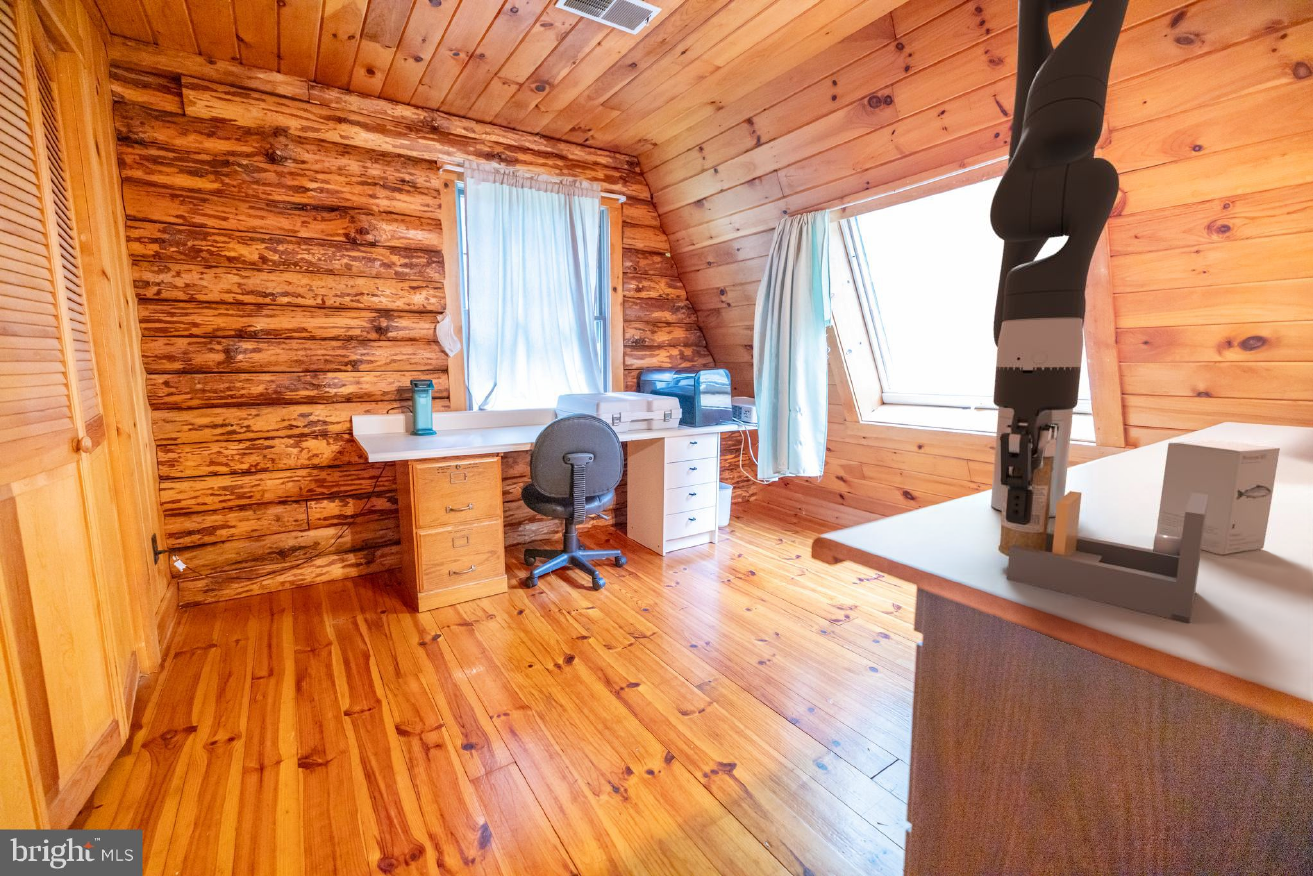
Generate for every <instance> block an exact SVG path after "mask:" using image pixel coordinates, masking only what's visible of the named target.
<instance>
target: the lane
mask: <svg viewBox="0 0 1313 876" xmlns="http://www.w3.org/2000/svg"><path fill="white" fill-rule="evenodd" d="M1208 497H1209V495H1208V494H1200V493H1192V494H1191V497H1190V500H1189V502H1188V505H1187V508H1186V511H1185V518H1184V525H1183V533H1182V538H1180V537H1174V536H1167V535H1161V534H1156V533H1155V534H1154V538H1153V539H1154V540H1153V546H1152V547H1153V548H1146V547H1141V546H1135V545H1131V544H1125V543H1124V544H1123V543H1119V542H1114V541H1107V540H1103V539H1099V538H1098V539H1097V538H1091V537H1088V536H1087V537H1086V536H1081V535H1077V543H1076V551H1080V552H1085V553H1090V554H1095V555H1100V556H1102V563H1100V562H1095V561H1091V560H1086V559H1081V558H1076V557H1071V556H1066V555H1061V554H1056V553H1052V551H1053V540H1054V531H1053V530H1049V529H1047V535H1046V546H1045V551H1042V550H1037V549H1032V548H1027V547H1022V546H1017V545H1012V546H1011V547H1010V548H1009V556H1008V562H1007V573H1006V575H1007V576H1006V579H1008V580H1011V581H1016V582H1020V583H1023V584H1028V585H1032V586H1036V587H1040V588H1044V589H1047V590H1048V589H1049V590H1052V591H1056V592H1060V593H1065V594H1067V595H1072V596H1077V597H1080V598H1085V599H1089V600H1093V601H1097V602H1102V603H1105V604H1108V605H1109V604H1110V605H1114V606H1118V607H1121V608H1125V609H1129V610H1135V611H1137V612H1142V613H1146V614H1150V615H1154V616H1158V617H1163V618H1165V619H1166V618H1167V619H1171V620H1176V621H1179V622H1183V623H1187V624H1190V622H1191V617H1192V612H1193V607H1194V601H1195V595H1196V589H1197V583H1198V575H1199V569H1200V562H1201V554H1202V550H1201V548H1202V541H1203V533H1204V526H1205V519H1206V512H1207V504H1208Z"/></svg>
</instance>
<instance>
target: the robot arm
mask: <svg viewBox="0 0 1313 876" xmlns="http://www.w3.org/2000/svg"><path fill="white" fill-rule="evenodd" d="M1017 2H1018V4H1017V5H1018V6H1017V8H1018V9H1017V44H1016V45H1017V47H1016V48H1017V49H1016V50H1017V51H1016V52H1017V53H1016V54H1017V55H1016V56H1017V57H1016V76H1015V77H1016V81H1015V94H1014V95H1015V96H1014V105H1013V113H1012V114H1013V115H1012V124H1011V131H1010V132H1011V134H1010V142H1009V150H1008V161H1007V167H1006V170H1005V171H1004V174H1003V175H1002V177H1001V179H1000V181H999V183H998V186H997V188H996V190H995V192H994V194H993V197H992V200H991V205H990V210H989V219H990V225H991V228H992V230H993V232H994V233H995V235H996V236H997V237H998V238H999V239H1001V240H1003V249H1002V258H1001V265H1000V271H999V279H998V280H999V281H998V286H997V287H998V288H997V294H996V300H995V306H994V315H993V327H992V329H993V341H994V344H995V346H996V348H997V351H996V362H995V363H996V364H995V365H996V366H995V375H994V376H995V378H994V389H993V404H994V405H995V406H996V407H997V408H998V409H997V411H998V412H997V422H996V423H997V425H996V426H997V427H996V436H995V437H996V438H995V447H994V461H993V475H992V476H993V477H992V486H991V488H992V489H991V499H990V500H991V501H990V506H991V507H992V508H994V509H996V510H997V511H998V510H999V511H1001V512H1002V504H1003V491H1004V485H1005V486H1006V488H1008V495H1007V507H1006V520H1007V521H1008V522H1010V523H1015V524H1021V525H1027V524H1028V523H1030V521H1031V514H1032V502H1033V490H1034V488H1035V486H1036V484H1035V480H1036V474H1037V471H1039V470H1041V469H1042V468H1043V466H1044V459H1045V449H1046V444H1048V443H1049V442H1050V440H1051V438H1054V439H1055V440H1056V454H1055V456H1053V457H1054V459H1053V461H1052V474H1051V477H1052V478H1051V491H1050V511H1049V518H1051V517H1052V518H1053V517H1056V509H1057V502H1058V501H1059V500H1060V499H1062V498H1063V497H1064V496H1065V495H1066V487H1067V486H1066V485H1067V476H1068V465H1069V457H1070V455H1069V454H1070V447H1071V445H1070V444H1071V436H1072V425H1073V414H1074V413H1073V412H1074V409H1075V408H1076V407H1077V406H1078V400H1079V389H1080V380H1081V379H1080V378H1081V372H1082V371H1081V370H1082V359H1083V350H1084V330H1083V329H1084V323H1085V319H1086V318H1085V317H1086V309H1087V308H1086V307H1087V305H1086V301H1087V299H1086V288H1087V280H1088V274H1089V272H1090V271H1089V270H1090V265H1091V262H1092V260H1093V256H1094V254H1095V253H1094V252H1095V250H1096V247H1097V245H1098V242H1099V240H1100V237H1101V235H1102V233H1103V231H1104V228H1105V226H1106V224H1107V222H1108V219H1109V217H1110V215H1111V213H1112V211H1113V208H1114V206H1115V203H1116V200H1117V198H1118V196H1119V195H1118V193H1119V190H1120V178H1119V173H1118V171H1117V169H1116V167H1115V166H1114V164H1112V163H1111V162H1110V161H1109V160H1107V159H1105V158H1102V157H1095V151H1096V146H1097V144H1098V143H1099V140H1100V138H1101V136H1102V132H1103V127H1104V118H1105V109H1106V103H1107V102H1106V101H1107V94H1108V84H1109V79H1110V72H1111V67H1112V61H1113V59H1114V54H1115V50H1116V47H1117V44H1118V41H1119V38H1120V34H1121V31H1122V28H1123V25H1124V21H1125V17H1126V14H1127V10H1128V7H1129V2H1130V0H1018V1H1017ZM1088 3H1090V5H1089V7H1088V8H1087V9H1086V11H1085V12H1084V13H1083V15H1082V16H1081V18H1079V20H1078V21H1077V22H1076V24H1075V25H1073V27H1072V28H1071V30H1070V31H1069V32H1068V33H1067V34H1066V35H1065V36H1064V37H1063V39H1062V40H1061V41H1060V42H1059V43H1058V45H1056V47H1055V48H1054V45H1053V43H1052V39H1051V34H1050V30H1049V17H1050V15H1051V14H1053V13H1056V12H1060V11H1063V10H1067V9H1072V8H1075V7H1078V6H1082V5H1085V4H1088ZM1064 236H1065V237H1067V240H1066V242H1065V243H1064V244H1063V246H1062V247H1061V248H1060V249H1058V251H1056V252H1055V253H1054V254H1051V255H1049V256H1046V257H1043V258H1040V259H1036V258H1037V257H1038V255H1039V253H1040V252H1041V250H1042V248H1043V247H1044V246H1045V244H1046V243H1047V242H1048V240H1049V239H1051V238H1060V237H1064ZM1038 441H1039V444H1038ZM1037 450H1038V451H1037ZM1036 454H1037V457H1036V459H1035V460H1033V461H1031V458H1033V456H1035V455H1036ZM1016 468H1021V469H1022V470H1023V476H1019V475H1015V470H1016Z"/></svg>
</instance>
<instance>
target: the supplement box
mask: <svg viewBox="0 0 1313 876" xmlns="http://www.w3.org/2000/svg"><path fill="white" fill-rule="evenodd" d="M1280 450H1281V449H1280V447H1276V446H1268V445H1260V444H1259V445H1258V444H1249V443H1239V442H1231V441H1223V440H1213V439H1211V440H1210V439H1204V440H1201V439H1200V440H1189V441H1185V440H1184V441H1172V442H1168V444H1167V451H1166V460H1165V464H1164V465H1165V466H1164V475H1163V479H1162V480H1163V481H1162V487H1161V489H1162V490H1161V495H1160V496H1161V497H1160V503H1159V510H1158V517H1157V525H1156V526H1157V527H1156V532H1155V534H1161V535H1167V536H1174V537H1180V538H1182V533H1183V525H1184V518H1185V511H1186V508H1187V505H1188V502H1189V500H1190V497H1191V494H1192V493H1200V494H1208V495H1209V497H1208V504H1207V512H1206V519H1205V526H1204V533H1203V541H1202V548H1201V551H1206V552H1210V553H1213V554H1217V555H1221V556H1225V555H1228V554H1232V553H1233V554H1234V553H1239V552H1246V551H1251V550H1252V551H1254V550H1262V549H1264V546H1265V540H1266V535H1267V529H1268V523H1269V517H1270V512H1271V507H1272V506H1271V505H1272V499H1273V495H1274V487H1275V480H1276V475H1277V474H1276V473H1277V469H1278V468H1277V467H1278V463H1279V462H1278V461H1279V456H1280Z"/></svg>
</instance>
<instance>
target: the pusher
mask: <svg viewBox="0 0 1313 876" xmlns="http://www.w3.org/2000/svg"><path fill="white" fill-rule="evenodd" d="M1081 501H1082V492H1080V491H1071V490H1069V492H1067V493H1065V496H1064V497H1063V498H1062V499H1060V500H1059V501H1058V502H1057V509H1056V516H1055V521H1054V540H1053V551H1052V553H1056V554H1061V555H1066V556H1071V557H1076V558H1081V559H1086V560H1091V561H1095V562H1100V563H1102V556H1100V555H1095V554H1090V553H1085V552H1080V551H1076V543H1077V536H1078V533H1079V532H1078V530H1079V522H1080V521H1079V520H1080V513H1081V503H1082V502H1081Z"/></svg>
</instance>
